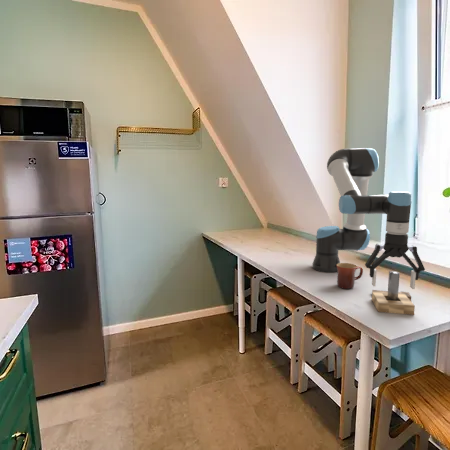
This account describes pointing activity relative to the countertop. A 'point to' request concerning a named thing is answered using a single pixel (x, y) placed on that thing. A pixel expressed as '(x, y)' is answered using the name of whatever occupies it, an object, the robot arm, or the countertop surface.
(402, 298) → the socket block
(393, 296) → the pin
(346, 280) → the mug
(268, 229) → the countertop surface
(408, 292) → the bar
